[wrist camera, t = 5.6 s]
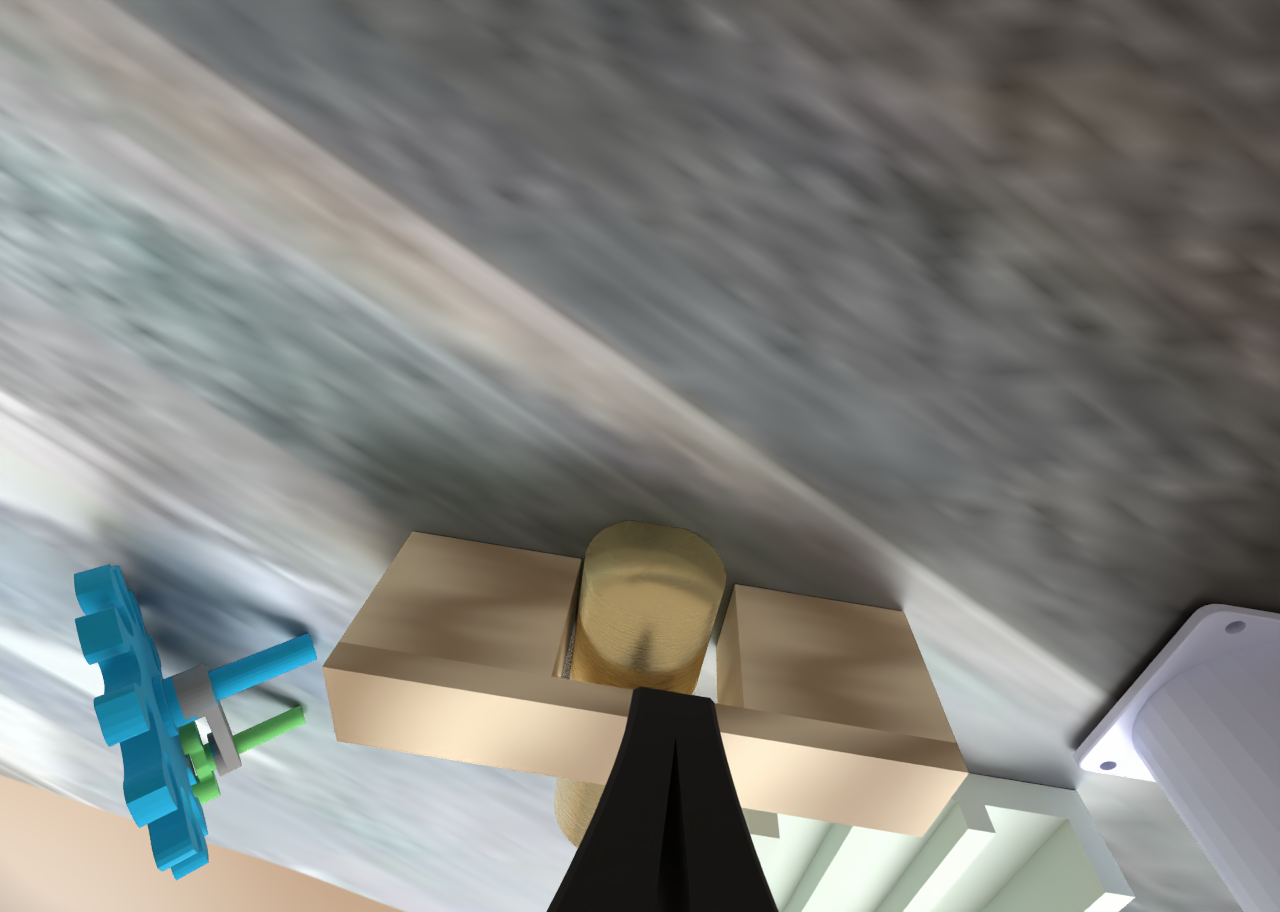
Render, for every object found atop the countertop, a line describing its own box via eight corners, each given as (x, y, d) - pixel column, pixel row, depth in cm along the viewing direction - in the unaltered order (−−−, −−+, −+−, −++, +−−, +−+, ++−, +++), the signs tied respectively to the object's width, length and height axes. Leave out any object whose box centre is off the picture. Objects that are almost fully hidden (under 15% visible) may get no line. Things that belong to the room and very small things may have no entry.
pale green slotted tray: (1076, 790, 23) (1135, 897, 20) (951, 929, 29) (981, 1026, 26) (743, 736, 23) (750, 833, 20) (687, 885, 29) (686, 978, 26)
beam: (903, 612, 19) (969, 772, 15) (872, 673, 21) (922, 837, 16) (412, 531, 19) (322, 666, 15) (417, 598, 21) (336, 741, 16)
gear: (29, 511, 18) (67, 821, 13) (255, 462, 22) (354, 690, 17) (131, 694, 25) (182, 942, 20) (290, 633, 28) (367, 832, 23)
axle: (606, 507, 19) (565, 593, 15) (732, 539, 18) (718, 635, 15) (573, 739, 25) (538, 837, 22) (666, 767, 24) (646, 872, 21)
